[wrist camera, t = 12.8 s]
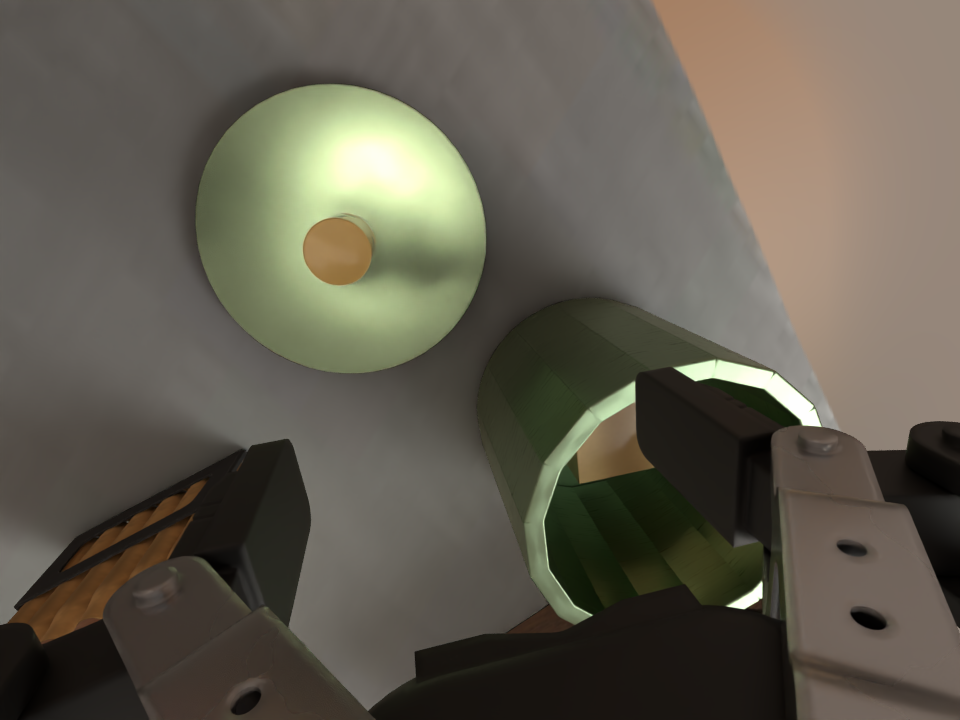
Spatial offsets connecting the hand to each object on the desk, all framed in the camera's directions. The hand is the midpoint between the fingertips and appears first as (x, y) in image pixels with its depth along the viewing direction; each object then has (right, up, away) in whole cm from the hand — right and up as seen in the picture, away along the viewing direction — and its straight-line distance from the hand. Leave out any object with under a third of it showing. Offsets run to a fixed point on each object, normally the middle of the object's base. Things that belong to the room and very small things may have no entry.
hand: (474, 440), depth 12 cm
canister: (+6, -1, +19) cm, 20 cm away
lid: (-6, +8, +13) cm, 16 cm away
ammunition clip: (-17, -6, +17) cm, 25 cm away
